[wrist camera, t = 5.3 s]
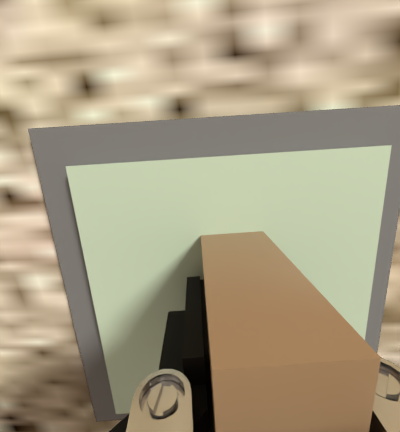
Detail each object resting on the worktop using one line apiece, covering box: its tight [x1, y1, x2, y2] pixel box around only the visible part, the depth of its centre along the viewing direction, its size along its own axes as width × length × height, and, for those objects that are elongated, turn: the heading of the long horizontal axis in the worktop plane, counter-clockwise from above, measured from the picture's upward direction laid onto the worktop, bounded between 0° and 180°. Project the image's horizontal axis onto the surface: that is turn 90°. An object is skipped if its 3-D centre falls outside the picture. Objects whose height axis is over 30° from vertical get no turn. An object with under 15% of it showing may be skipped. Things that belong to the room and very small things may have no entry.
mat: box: [28, 105, 400, 422], centre depth 11 cm, size 15×15×1 cm
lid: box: [66, 145, 392, 432], centre depth 7 cm, size 12×12×7 cm
